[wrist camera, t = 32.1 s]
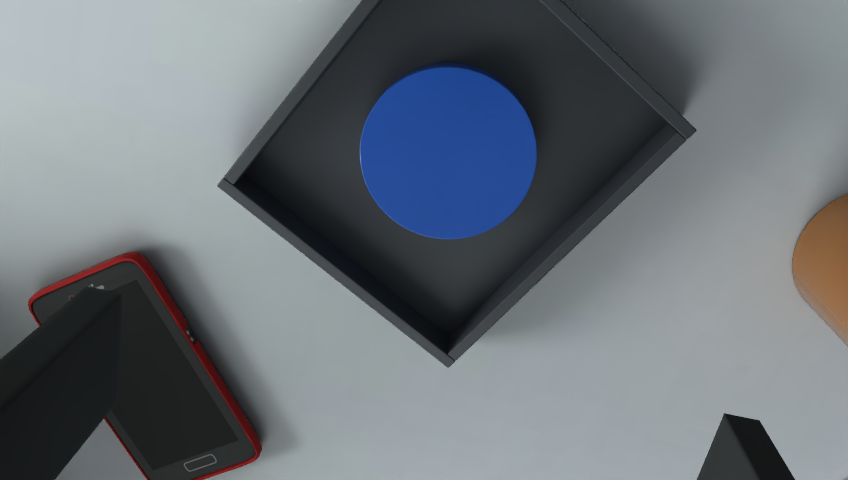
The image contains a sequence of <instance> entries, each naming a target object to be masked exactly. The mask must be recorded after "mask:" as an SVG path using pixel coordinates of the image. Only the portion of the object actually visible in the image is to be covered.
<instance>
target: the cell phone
mask: <svg viewBox="0 0 848 480" xmlns="http://www.w3.org/2000/svg"><path fill="white" fill-rule="evenodd" d="M86 286H88V287H93V288H98V289H103V290H108V291H113V292H118V293H122V305H121V336H120V368H119V399H118V401H117V403H116V404H115V405H114V406H113V408H112V409H111V410H110V411H109V413H108V414H107V415H106V416H105V418H104V419H105V421H106V422H107V424H108V425H109V426H110V428H111V429H112V431H113V432H114V434H115V435H116V436H117V438H118V439H119V441H120V442H121V443H122V445H123V446H124V448H125V449H126V451H127V452H128V453H129V455H130V456H131V458H132V459H133V461H134V462H135V463H136V465H137V466H138V468H139V469H140V471H141V472H142V473H143V475H144V476H145V478H146V479H147V480H203V479H206V478H209V477H212V476H215V475H218V474H221V473H224V472H227V471H230V470H233V469H236V468H238V467H241V466H244V465H247V464H249V463H251V462H253V461H255V460H256V459H257V458H258V457H259V455H260V453H261V451H262V445H261V443H260V441H259V438H258V436H257V434H256V433H255V431H254V430H253V428H252V426H251V425H250V423H249V422H248V420H247V418H246V417H245V415H244V414H243V412H242V410H241V409H240V407H239V406H238V404H237V403H236V401H235V399H234V398H233V396H232V395H231V393H230V391H229V390H228V388H227V387H226V385H225V383H224V382H223V380H222V379H221V377H220V375H219V374H218V372H217V371H216V369H215V367H214V366H213V364H212V363H211V361H210V359H209V358H208V356H207V355H206V353H205V351H204V350H203V348H202V347H201V345H200V343H199V342H198V340H196V338H195V337H194V335H193V334H192V332H191V331H190V329H189V327H188V323H187V322H186V320H185V319H184V317H183V315H182V314H181V312H180V311H179V309H178V307H177V306H176V304H175V303H174V301H173V300H172V298H171V296H170V295H169V293H168V292H167V290H166V288H165V287H164V285H163V284H162V282H161V280H160V279H159V277H158V276H157V274H156V272H155V271H154V269H153V268H152V266H151V265H150V263H149V262H148V261H147V260H146V259H145V257H144V256H142V255H141V254H140V253H137V252H129V253H124V254H122V255H119V256H116V257H114V258H112V259H109V260H107V261H105V262H102V263H100V264H98V265H96V266H93V267H91V268H89V269H86V270H84V271H82V272H79V273H77V274H75V275H72V276H70V277H68V278H65V279H63V280H61V281H58V282H56V283H54V284H52V285H49V286H47V287H45V288H43V289H41V290H39V291H38V292H37V293H35V294H34V295H33V296H32V297H31V298H30V299H29V302H28V305H29V310H30V312H31V314H32V315H33V317H34V319H35V320H36V322H37V323H38V325H39V326H40V325H42V324H43V323H44V322H45V321H46V320H48V319H49V318H50V317H51V316H52V315H53V314H55V313H56V312H57V311H58V310H59V309H60V308H62V307H63V306H64V305H65V304H66V303H67V302H69V301H70V300H71V299H72V298H73V297H74V296H76V295H77V294H78V293H79V292H80V291H81V290H83V289H84V288H85V287H86Z"/></svg>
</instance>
